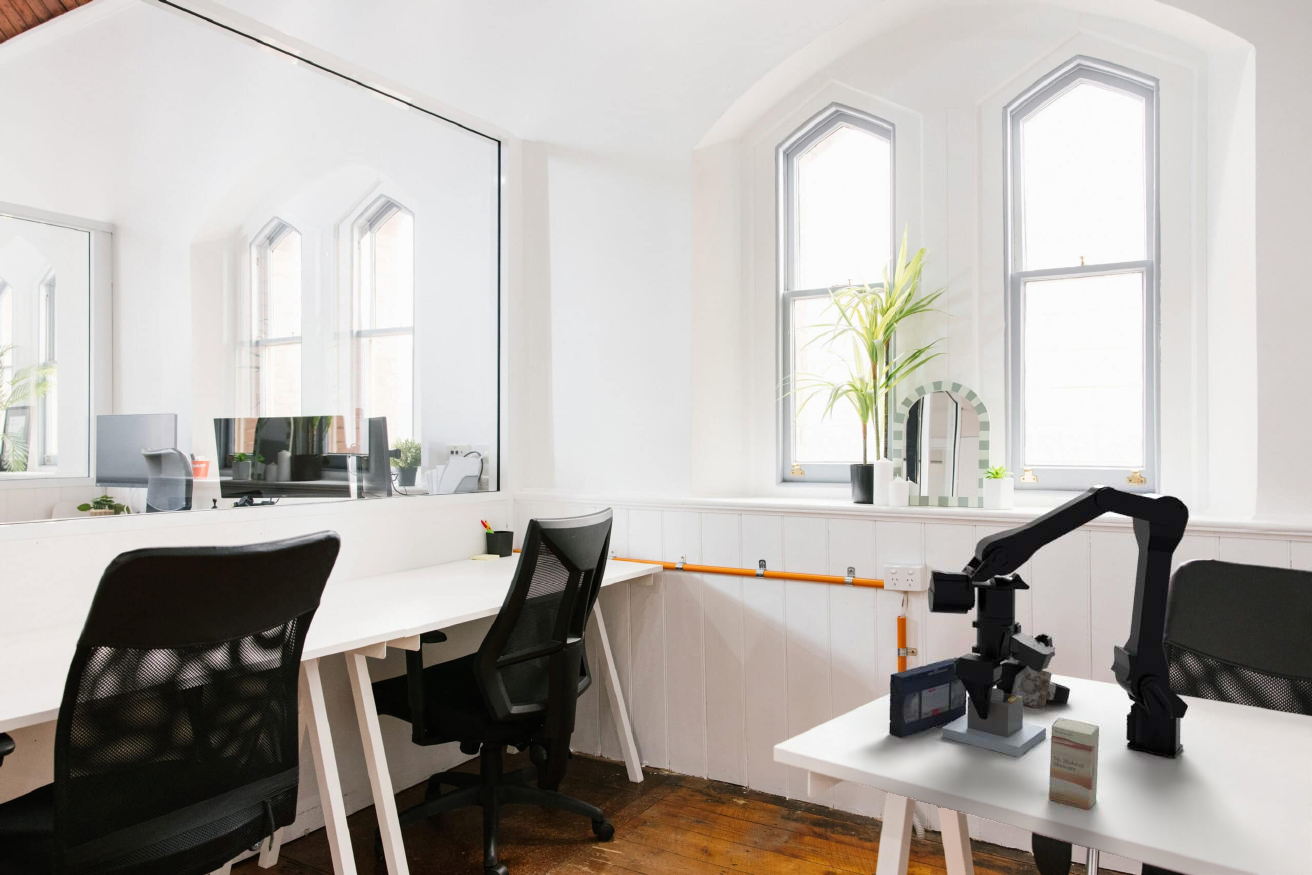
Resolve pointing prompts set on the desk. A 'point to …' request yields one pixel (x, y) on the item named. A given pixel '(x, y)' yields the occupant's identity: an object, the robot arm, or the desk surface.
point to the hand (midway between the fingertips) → (994, 712)
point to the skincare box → (1074, 763)
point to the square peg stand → (1010, 745)
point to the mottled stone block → (1039, 688)
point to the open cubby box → (998, 716)
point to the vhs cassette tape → (925, 698)
